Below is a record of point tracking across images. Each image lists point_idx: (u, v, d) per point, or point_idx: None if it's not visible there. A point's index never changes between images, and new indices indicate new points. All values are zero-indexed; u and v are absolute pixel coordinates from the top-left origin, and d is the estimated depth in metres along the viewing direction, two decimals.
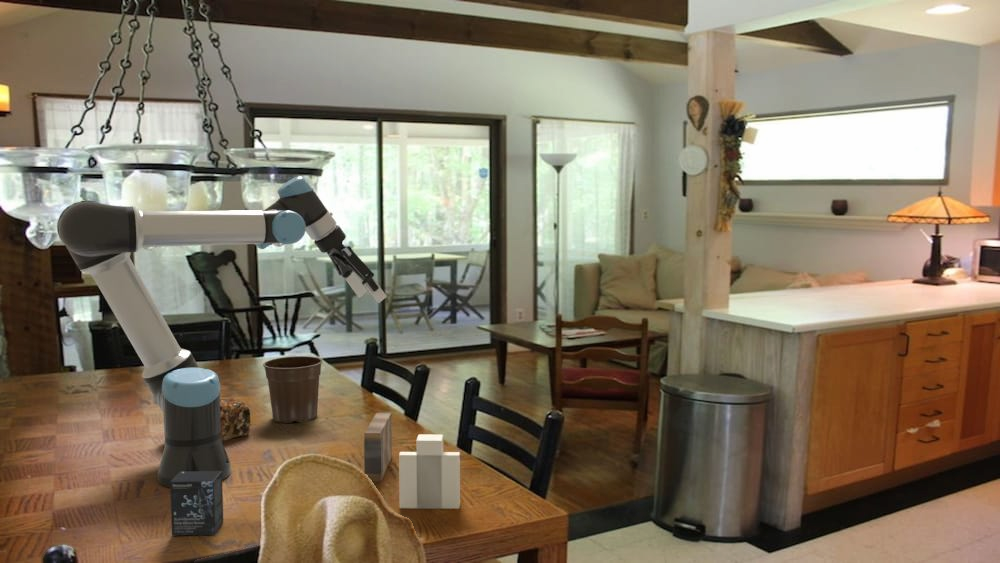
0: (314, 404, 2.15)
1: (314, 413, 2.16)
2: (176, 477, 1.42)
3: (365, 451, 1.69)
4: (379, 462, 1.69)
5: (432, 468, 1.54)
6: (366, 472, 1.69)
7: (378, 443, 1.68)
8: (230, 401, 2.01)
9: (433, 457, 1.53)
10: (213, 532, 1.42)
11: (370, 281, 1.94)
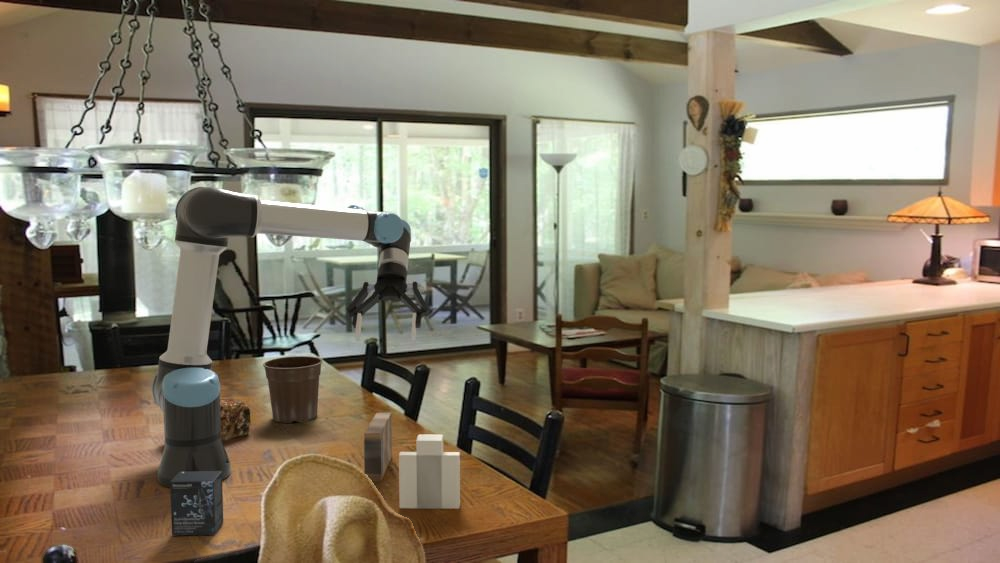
0: (314, 404, 2.15)
1: (314, 413, 2.16)
2: (176, 477, 1.42)
3: (365, 451, 1.69)
4: (379, 462, 1.69)
5: (432, 468, 1.54)
6: (366, 472, 1.69)
7: (378, 443, 1.68)
8: (230, 401, 2.01)
9: (433, 457, 1.53)
10: (213, 532, 1.42)
11: (421, 316, 1.90)
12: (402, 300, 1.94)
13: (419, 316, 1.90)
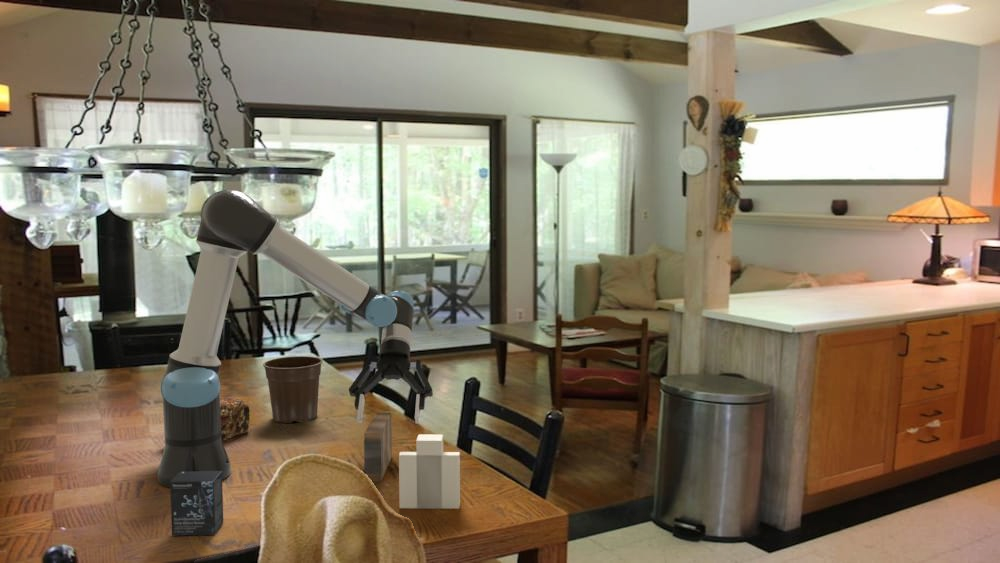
0: (314, 404, 2.15)
1: (314, 413, 2.16)
2: (176, 477, 1.42)
3: (365, 451, 1.69)
4: (379, 462, 1.69)
5: (432, 468, 1.54)
6: (366, 472, 1.69)
7: (378, 443, 1.68)
8: (229, 400, 2.02)
9: (433, 457, 1.53)
10: (213, 532, 1.42)
11: (424, 397, 1.87)
12: (405, 379, 1.90)
13: (423, 397, 1.86)
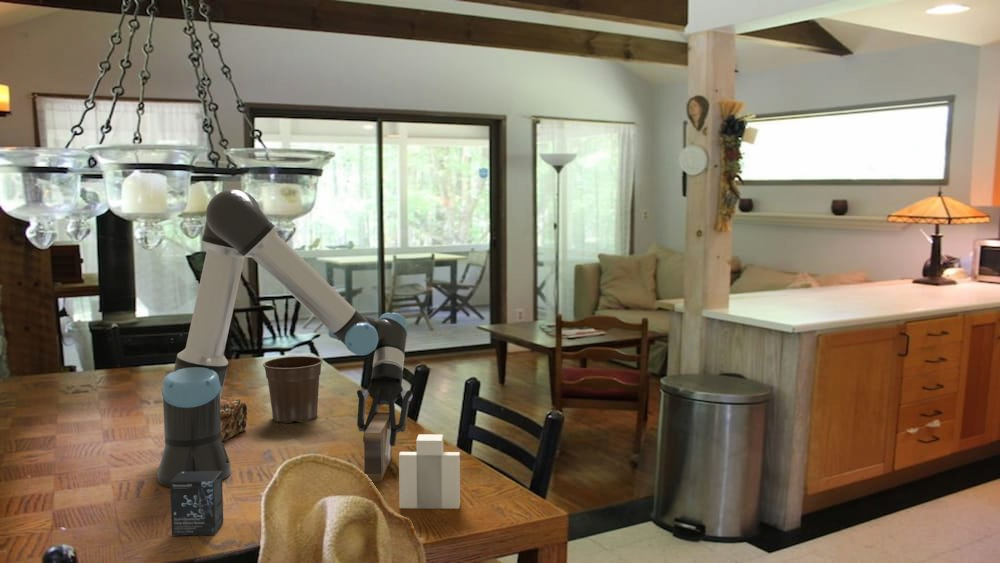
0: (314, 404, 2.15)
1: (314, 413, 2.16)
2: (176, 477, 1.42)
3: (365, 451, 1.68)
4: (379, 462, 1.69)
5: (432, 468, 1.54)
6: (366, 472, 1.69)
7: (378, 443, 1.68)
8: (227, 399, 2.03)
9: (433, 457, 1.53)
10: (213, 532, 1.42)
11: (396, 432, 1.79)
12: None
13: (394, 433, 1.78)
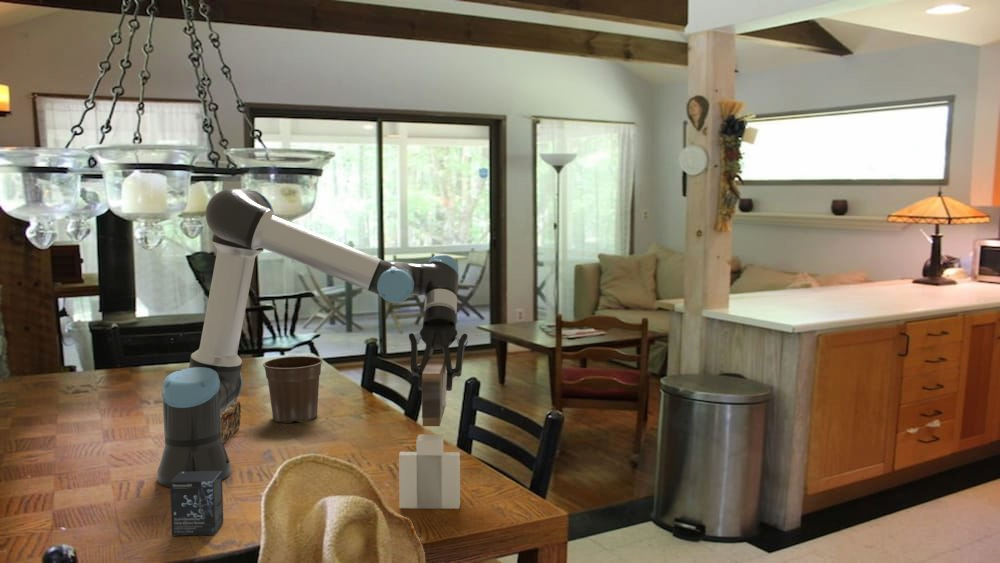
0: (314, 404, 2.15)
1: (314, 413, 2.16)
2: (176, 477, 1.42)
3: (423, 393, 1.57)
4: (438, 405, 1.57)
5: (432, 468, 1.54)
6: (424, 416, 1.57)
7: (437, 384, 1.57)
8: None
9: (433, 457, 1.53)
10: (213, 532, 1.42)
11: (452, 377, 1.67)
12: None
13: (450, 377, 1.66)
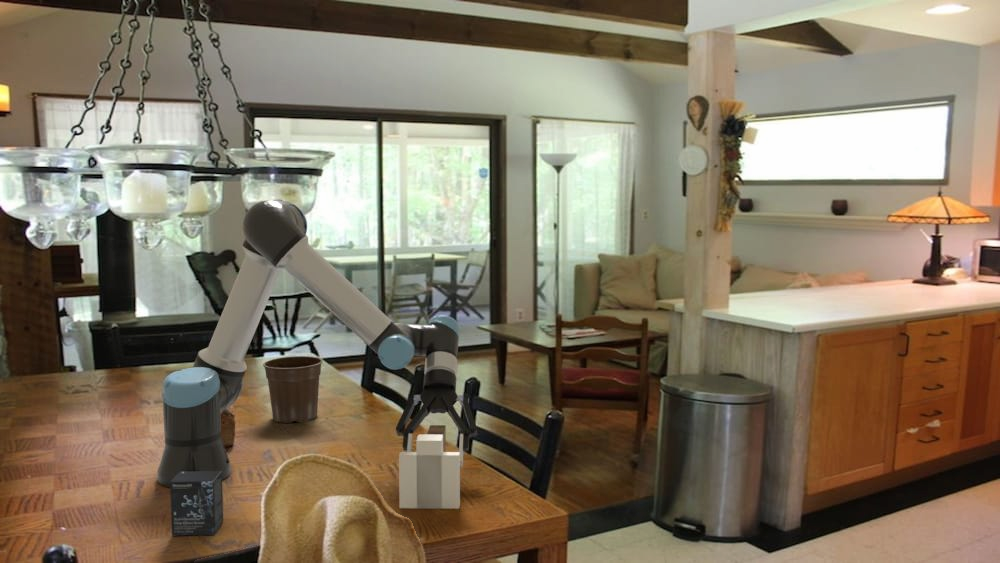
0: (314, 404, 2.15)
1: (314, 413, 2.16)
2: (176, 477, 1.42)
3: None
4: None
5: (432, 468, 1.54)
6: None
7: None
8: None
9: (433, 457, 1.53)
10: (213, 532, 1.42)
11: (468, 437, 1.69)
12: (450, 414, 1.73)
13: (467, 438, 1.69)
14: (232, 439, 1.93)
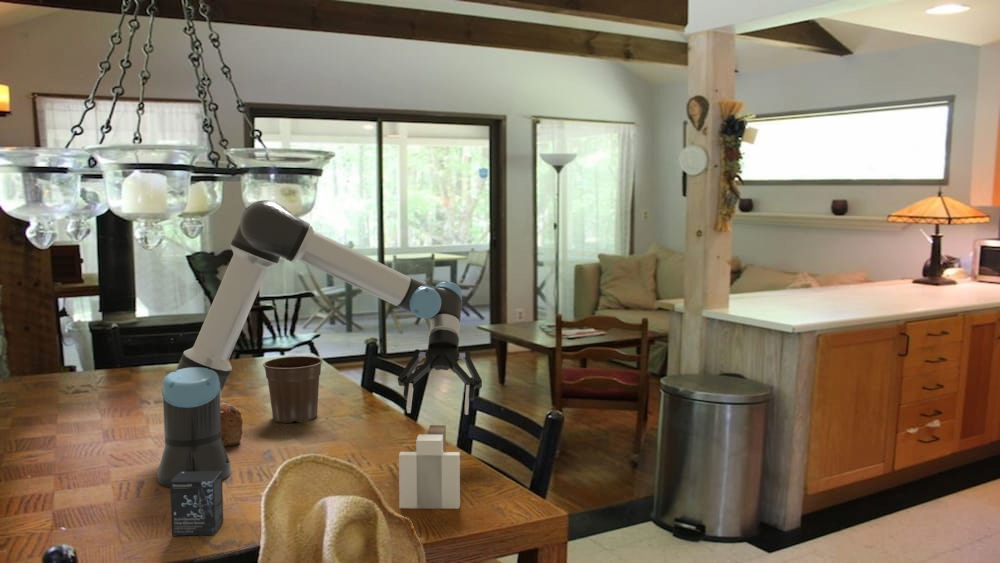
0: (314, 404, 2.15)
1: (314, 413, 2.16)
2: (176, 477, 1.42)
3: None
4: None
5: (432, 468, 1.54)
6: None
7: None
8: None
9: (433, 457, 1.53)
10: (213, 532, 1.42)
11: (474, 388, 1.84)
12: (454, 370, 1.88)
13: (472, 389, 1.84)
14: (239, 437, 1.95)
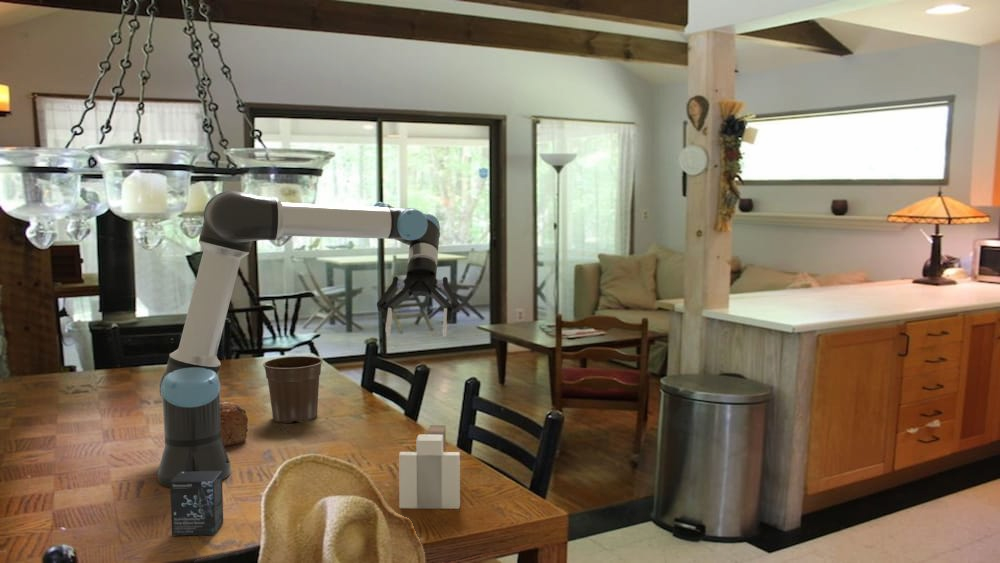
0: (314, 404, 2.15)
1: (314, 413, 2.16)
2: (176, 477, 1.42)
3: None
4: None
5: (432, 468, 1.54)
6: None
7: None
8: None
9: (433, 457, 1.53)
10: (213, 532, 1.42)
11: (452, 311, 1.88)
12: (432, 295, 1.92)
13: (450, 312, 1.88)
14: (245, 435, 1.96)
